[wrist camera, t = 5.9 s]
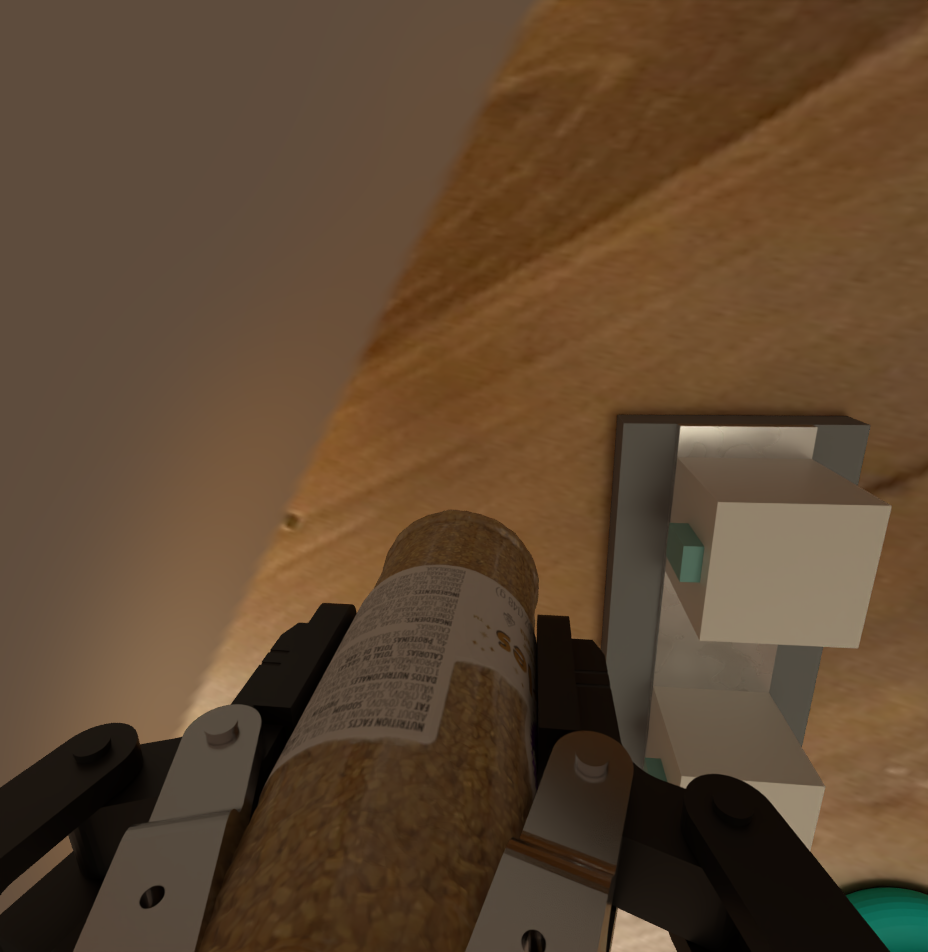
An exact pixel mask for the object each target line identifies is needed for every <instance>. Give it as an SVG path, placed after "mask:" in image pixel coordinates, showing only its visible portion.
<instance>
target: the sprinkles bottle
mask: <svg viewBox="0 0 928 952" xmlns="http://www.w3.org/2000/svg"><path fill="white" fill-rule="evenodd" d="M538 583H539V578H538V574H537V570H536V566H535V563H534V560H533V558H532V556H531V554H530V552H529V551H528V550H527V548H526V547H525V545H524V544H523V542H522V541H521V540H520V539H519V538H518V536H517V535H516V533H514V532H513V531H512V530H510V529H508V528H507V527H505V526H504V525H503V524H502V523H500V522H498V521H497V520H495V519H492V518H489V517H486V516H484V515H481V514H476V513H472V512H468V511H459V510H447V511H443V512H440V513H436V514H431V515H428V516H425V517H423V518H421V519H419V520H417V521H415V522H413V523H412V524H411V525H409V526H408V527H407V528H406V529H404V530H403V531H402V532H401V533H400V534H399V535H398V537H397V538H396V540H395V542H394V543H393V545H392V547H391V548H390V550H389V551H388V554H387V556H386V560H385V564H384V567H383V572H382V574H381V576H380V578H379V579H378V581H377V583H376V586H375V587H374V589H373V590H372V592H371V593H370V594H369V595H368V597H367V598H366V599H365V600H364V602H363V603H362V605H361V607H360V609H359V611H358V612H357V614H356V616H355V618H354V620H353V622H352V623H351V625H350V627H349V629H348V631H347V633H346V634H345V636H344V638H343V640H342V642H341V644H340V645H339V647H338V649H337V651H336V653H335V655H334V657H333V658H332V660H331V662H330V664H329V666H328V668H327V669H326V671H325V673H324V675H323V677H322V679H321V681H320V682H319V684H318V686H317V688H316V690H315V692H314V694H313V696H312V697H311V699H310V701H309V703H308V705H307V707H306V709H305V710H304V712H303V714H302V716H301V718H300V720H299V722H298V724H297V725H296V727H295V729H294V731H293V733H292V735H291V737H290V738H289V740H288V742H287V744H286V746H285V748H284V750H283V751H282V753H281V755H280V757H279V759H278V761H277V763H276V764H275V766H274V768H273V770H272V772H271V774H270V776H269V777H268V779H267V781H266V783H265V785H264V787H263V790H262V792H261V794H260V797H259V801H258V806H257V808H256V809H255V811H254V813H253V816H252V818H251V820H250V823H249V825H248V827H247V828H246V830H245V832H244V834H243V836H242V838H241V841H240V843H239V845H238V848H237V849H236V851H235V853H234V856H233V858H232V862H231V865H230V866H229V868H228V870H227V872H226V874H225V877H224V880H223V884H222V887H221V890H220V892H219V894H218V896H217V898H216V901H215V905H214V910H213V913H212V917H211V920H210V922H209V924H208V926H207V928H206V931H205V934H204V937H203V940H202V943H201V945H200V949H199V952H465V951H466V948H467V946H468V943H469V941H470V938H471V935H472V933H473V930H474V928H475V925H476V923H477V920H478V917H479V915H480V912H481V910H482V907H483V904H484V902H485V899H486V897H487V894H488V891H489V889H490V886H491V884H492V881H493V879H494V876H495V873H496V871H497V868H498V866H499V863H500V860H501V858H502V855H503V853H504V850H505V848H506V846H507V844H508V842H509V840H510V839H511V838H512V837H513V836H514V837H517V838H519V837H520V836H521V833H522V831H523V828H524V825H525V823H526V820H527V817H528V815H529V812H530V809H531V806H532V804H533V801H534V798H535V796H536V793H537V790H538V773H537V645H536V637H535V634H534V627H535V618H534V614H535V608H536V605H537V601H538V589H539V586H538Z"/></svg>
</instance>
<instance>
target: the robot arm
mask: <svg viewBox="0 0 928 952" xmlns="http://www.w3.org/2000/svg"><path fill="white" fill-rule="evenodd" d="M356 614H357V613H356V608H355V606H354V605H352V604H334V603H322V604H321V605H320V606H319V608H318V609H317V611H316V612H315V614H314V615H313V617H312V618H311V620H310V621H309V623H298V624H296V625H295V626H293V627H292V628H290V629H289V630H288V631H286V632H285V633H283V634H282V635H281V636H280V637H279V639H278V640H277V642H276V643H275V644H274V646H273V647H272V648H271V652H270V653H268V654H267V655H266V657H265V658H264V659H263V661H262V664H261V665H259V666H258V668H257V669H256V670H255V672H254V673H253V675H252V676H251V677H250V679H249V680H248V681H247V683H246V684H245V686H244V687H243V688H242V690H241V691H240V692H239V694H238V695H237V697H236V698H235V699H234V701H233V702H232V703H231V705H226V706H222V707H218V708H216V709H213V710H211V711H209V712H207V713H205V714H203V715H202V716H200V717H198V718H197V719H196V720H195V721H193V722H192V724H191V725H190V726H189V727H188V728H187V729H186V731H185V733H184V735H183V737H179V738H175V739H169V740H163V741H157V742H152V743H146V744H140V743H139V739H138V735H137V732H136V730H135V729H134V728H133V727H132V726H130V725H128V724H123V723H109V724H104V725H100V726H96V727H93V728H90V729H88V730H86V731H83V732H81V733H79V734H78V735H76V736H74V737H72V738H71V739H69V740H68V741H67V742H65V743H64V744H62V745H61V746H59V747H58V748H56V749H55V750H54V751H52V752H51V753H49V754H48V755H46V756H45V757H43V758H42V759H41V760H39V761H38V762H36V763H35V764H34V765H32V766H31V767H29V768H28V769H26V770H25V771H23V772H22V773H21V774H19V775H18V776H16V777H15V778H13V779H12V780H10V781H9V782H8V783H6V784H5V785H3V786H2V787H1V788H0V895H1V893H2V892H3V891H4V890H5V889H6V888H7V887H8V886H9V885H10V884H11V883H12V882H13V881H14V880H15V879H17V878H18V877H19V876H20V875H21V874H23V873H24V872H25V871H26V870H27V869H29V868H30V867H31V866H32V865H33V864H34V863H36V862H37V861H38V860H39V859H40V858H41V857H43V856H44V855H45V854H46V853H47V852H49V851H50V850H51V849H52V848H53V847H54V846H56V845H57V844H58V843H59V842H60V841H62V840H63V839H64V838H65V837H66V836H69V839H70V842H71V845H72V848H73V852H72V853H70V854H69V855H68V856H67V857H66V858H65V859H64V860H62V862H60V863H59V864H58V865H57V866H56V867H54V868H53V869H52V870H51V871H50V872H49V873H48V874H46V875H45V876H44V877H43V878H42V879H41V880H40V881H38V882H37V883H36V884H35V885H34V886H33V887H32V888H30V889H29V890H28V891H27V892H26V893H25V894H23V895H22V896H21V897H20V898H19V899H18V900H17V901H15V902H14V903H13V904H12V905H11V906H10V907H9V908H8V909H6V910H5V911H4V912H3V913H2V914H1V915H0V952H199V949H200V945H201V943H202V940H203V937H204V934H205V931H206V928H207V926H208V924H209V922H210V920H211V917H212V913H213V910H214V905H215V901H216V898H217V896H218V894H219V892H220V890H221V887H222V884H223V880H224V877H225V874H226V872H227V870H228V868H229V866H230V865H231V862H232V858H233V856H234V853H235V851H236V849H237V848H238V845H239V843H240V841H241V838H242V836H243V834H244V832H245V830H246V828H247V827H248V825H249V823H250V820H251V818H252V816H253V813H254V811H255V809H256V808H257V806H258V801H259V797H260V794H261V792H262V790H263V787H264V785H265V783H266V781H267V779H268V777H269V776H270V774H271V772H272V770H273V768H274V766H275V764H276V763H277V761H278V759H279V757H280V755H281V753H282V751H283V750H284V748H285V746H286V744H287V742H288V740H289V738H290V737H291V735H292V733H293V731H294V729H295V727H296V725H297V724H298V722H299V720H300V718H301V716H302V714H303V712H304V710H305V709H306V707H307V705H308V703H309V701H310V699H311V697H312V696H313V694H314V692H315V690H316V688H317V686H318V684H319V682H320V681H321V679H322V677H323V675H324V673H325V671H326V669H327V668H328V666H329V664H330V662H331V660H332V658H333V657H334V655H335V653H336V651H337V649H338V647H339V645H340V644H341V642H342V640H343V638H344V636H345V634H346V633H347V631H348V629H349V627H350V625H351V623H352V622H353V620H354V618H355V616H356ZM536 645H537V773H538V790H537V793H536V796H535V798H534V801H533V804H532V806H531V809H530V812H529V815H528V817H527V820H526V823H525V825H524V828H523V831H522V833H521V836H520V837H519V838H517V837H514V836H513V837H512V838H511V839H510V840H509V842H508V844H507V846H506V848H505V850H504V853H503V855H502V858H501V860H500V863H499V866H498V868H497V871H496V873H495V876H494V879H493V881H492V884H491V886H490V889H489V891H488V894H487V897H486V899H485V902H484V904H483V907H482V910H481V912H480V915H479V917H478V920H477V923H476V925H475V928H474V930H473V933H472V935H471V938H470V941H469V943H468V946H467V948H466V951H465V952H611V946H612V940H613V935H614V929H615V923H616V917H617V911H618V908H619V909H621V910H623V911H626V912H628V913H630V914H632V915H634V916H636V917H639V918H641V919H643V920H645V921H647V922H649V923H652V924H654V925H656V926H658V927H660V928H663V929H665V930H667V931H669V935H670V937H671V940H672V942H673V944H674V946H675V948H676V950H677V952H890V951H889V949H888V948H887V947H886V946H885V944H884V943H883V942H882V941H881V939H880V938H879V937H878V936H877V934H876V933H875V932H874V931H873V929H872V928H871V927H870V926H869V924H868V923H867V922H866V921H865V919H864V918H863V917H862V916H861V914H860V913H859V912H858V911H857V909H856V908H855V907H854V906H853V904H852V903H851V902H850V901H849V899H848V898H847V897H846V896H845V894H844V893H843V892H842V891H841V889H840V888H839V887H838V886H837V884H836V883H835V882H834V881H833V879H832V878H831V877H830V876H829V874H828V873H827V872H826V871H825V869H824V868H823V867H822V866H821V864H820V863H819V862H818V861H817V859H816V858H815V857H814V856H813V854H812V853H811V852H810V851H809V849H808V848H807V847H806V846H805V844H804V843H803V842H802V841H801V839H800V838H799V837H798V836H797V834H796V833H795V832H794V831H793V829H792V828H791V827H790V826H789V824H788V823H787V822H786V821H785V819H784V818H783V817H782V816H781V814H780V813H779V812H778V811H777V810H776V808H775V807H774V806H773V805H772V803H771V802H770V801H769V800H768V799H767V798H766V797H765V796H764V795H763V794H762V793H761V792H760V791H758V790H757V789H755V788H754V787H753V786H751V785H749V784H748V783H746V782H744V781H742V780H739V779H737V778H734V777H731V776H727V775H722V774H705V775H701V776H699V777H696V778H694V779H693V780H692V781H691V782H690V783H689V784H688V785H687V787H686V788H683V787H680V786H677V785H674V784H671V783H668V782H666V781H663V780H660V779H658V778H656V777H654V776H652V775H650V774H648V773H646V772H645V771H643V770H642V769H641V768H639V767H638V766H637V765H636V764H635V763H634V762H633V761H632V759H631V757H630V755H629V754H628V752H627V751H626V749H625V748H624V747H623V746H622V742H621V738H620V733H619V728H618V722H617V717H616V712H615V707H614V701H613V696H612V691H611V688H610V680H609V675H608V670H607V664H606V659H605V655H604V653H603V652H602V651H601V650H600V649H599V647H598V646H597V645H596V644H595V642H594V641H593V640H585V639H571V629H570V620H569V616H554V615H538V616H537V644H536Z"/></svg>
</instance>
